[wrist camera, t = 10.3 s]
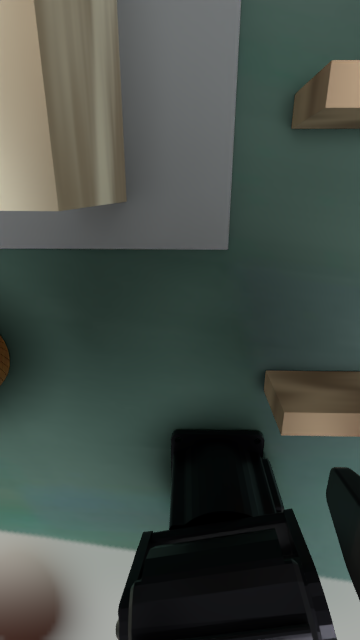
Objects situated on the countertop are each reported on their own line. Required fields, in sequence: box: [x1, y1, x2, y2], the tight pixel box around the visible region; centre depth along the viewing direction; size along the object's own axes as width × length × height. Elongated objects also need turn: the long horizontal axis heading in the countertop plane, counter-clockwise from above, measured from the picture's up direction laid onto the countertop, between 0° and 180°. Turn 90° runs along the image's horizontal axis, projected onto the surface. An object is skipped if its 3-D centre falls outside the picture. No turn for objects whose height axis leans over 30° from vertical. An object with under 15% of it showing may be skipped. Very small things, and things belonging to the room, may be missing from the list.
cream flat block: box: [0, 0, 127, 211], centre depth 11 cm, size 3×11×10 cm, turn 0°
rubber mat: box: [0, 0, 241, 250], centre depth 16 cm, size 14×16×1 cm
